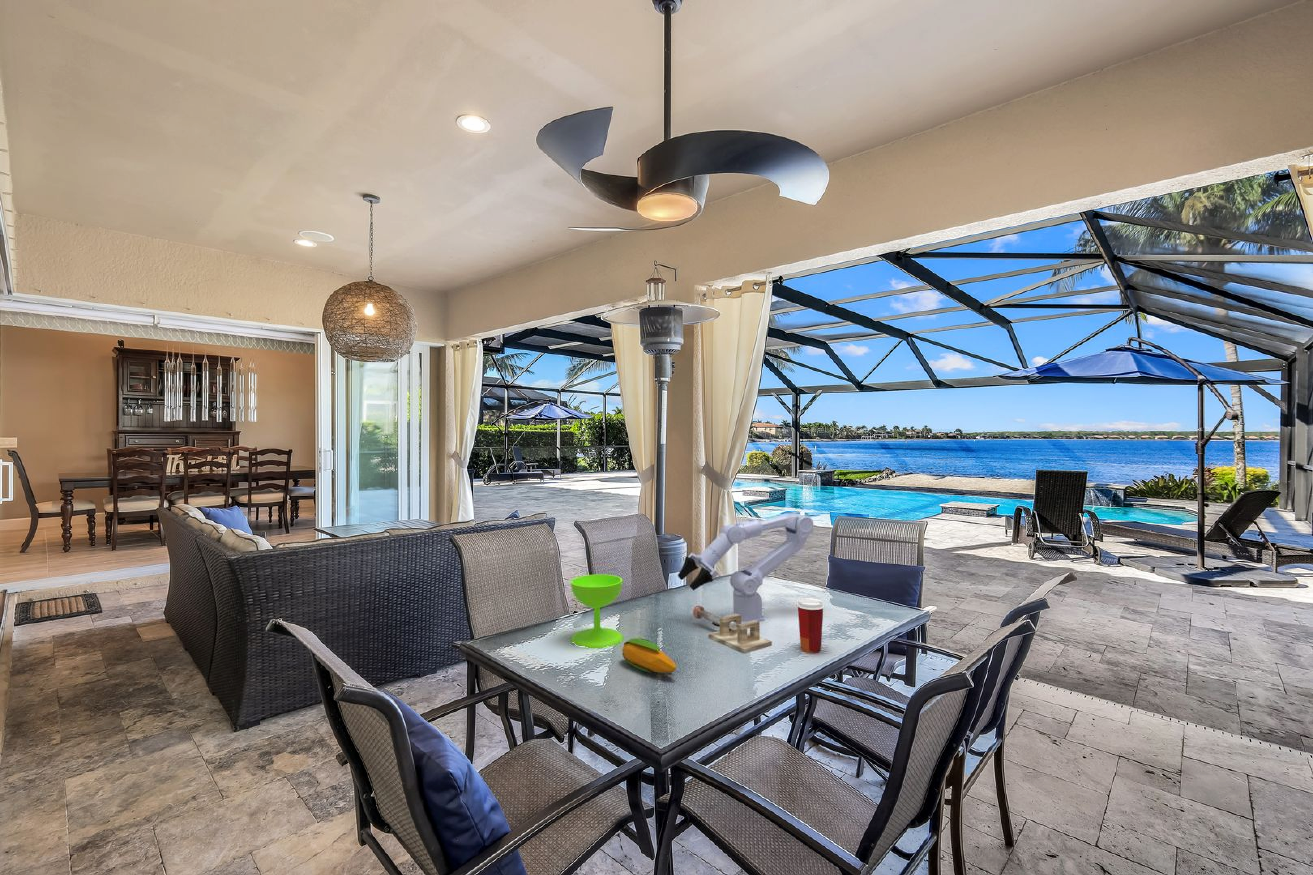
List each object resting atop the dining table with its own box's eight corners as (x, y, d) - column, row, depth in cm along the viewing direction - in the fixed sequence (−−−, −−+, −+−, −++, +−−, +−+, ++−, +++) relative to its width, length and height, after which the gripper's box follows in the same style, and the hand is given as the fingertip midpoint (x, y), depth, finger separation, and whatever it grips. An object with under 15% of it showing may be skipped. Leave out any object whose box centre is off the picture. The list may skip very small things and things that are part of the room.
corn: (635, 629, 160) (686, 647, 145) (637, 655, 160) (687, 676, 146) (614, 637, 155) (665, 657, 140) (616, 664, 155) (667, 687, 141)
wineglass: (567, 633, 179) (566, 576, 179) (616, 628, 184) (615, 572, 184) (575, 651, 164) (575, 589, 164) (629, 644, 169) (628, 584, 169)
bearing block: (708, 637, 174) (708, 616, 175) (735, 630, 181) (734, 610, 181) (744, 653, 161) (744, 630, 161) (771, 645, 167) (771, 623, 167)
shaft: (693, 618, 187) (692, 606, 187) (702, 616, 189) (702, 604, 189) (730, 634, 171) (729, 620, 172) (739, 631, 174) (739, 618, 174)
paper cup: (826, 647, 165) (826, 599, 166) (822, 656, 158) (821, 606, 159) (799, 643, 169) (798, 596, 169) (794, 652, 162) (793, 603, 162)
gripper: (696, 537, 192) (668, 566, 189) (720, 554, 180) (690, 585, 177) (706, 550, 196) (678, 578, 193) (730, 567, 183) (701, 598, 180)
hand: (685, 583), depth 185 cm, fingers open, 7 cm apart
